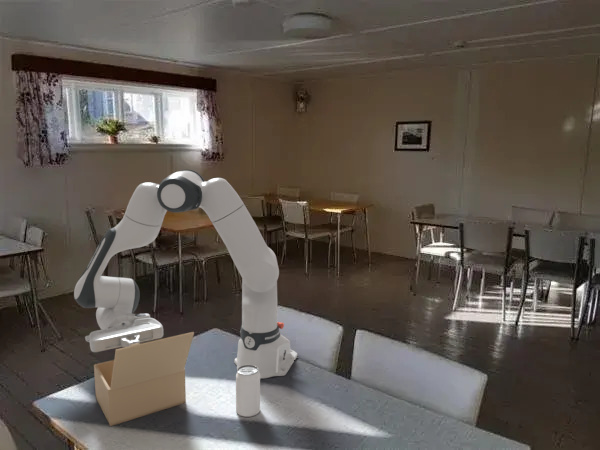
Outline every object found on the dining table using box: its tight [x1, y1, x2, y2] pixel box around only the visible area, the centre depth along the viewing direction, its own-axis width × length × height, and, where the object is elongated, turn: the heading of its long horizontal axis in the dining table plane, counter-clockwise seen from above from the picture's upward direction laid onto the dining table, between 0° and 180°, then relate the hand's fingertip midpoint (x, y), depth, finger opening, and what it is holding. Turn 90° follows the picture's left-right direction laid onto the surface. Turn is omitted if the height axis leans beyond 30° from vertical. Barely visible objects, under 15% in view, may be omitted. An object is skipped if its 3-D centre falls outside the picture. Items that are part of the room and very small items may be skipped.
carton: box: [93, 359, 187, 427], centre depth 131 cm, size 16×20×10 cm
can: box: [235, 365, 261, 418], centre depth 126 cm, size 6×6×12 cm
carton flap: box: [110, 331, 195, 391], centre depth 119 cm, size 16×19×1 cm
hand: (134, 345), depth 131 cm, fingers closed
